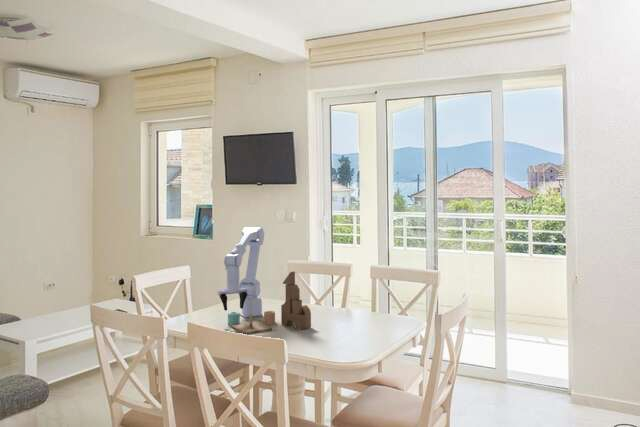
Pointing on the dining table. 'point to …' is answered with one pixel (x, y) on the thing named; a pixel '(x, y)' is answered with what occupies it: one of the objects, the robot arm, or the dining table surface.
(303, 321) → the wooden toy
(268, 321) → the terracotta bead
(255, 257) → the robot arm
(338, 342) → the dining table surface
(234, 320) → the teal bead
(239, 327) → the brown piece
